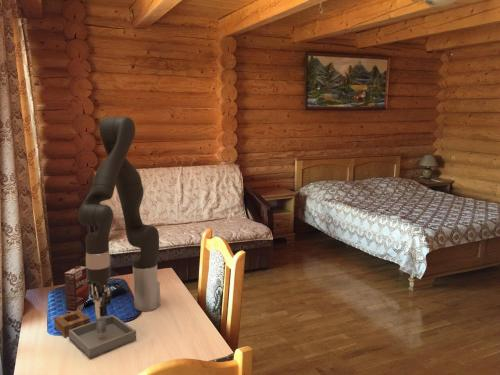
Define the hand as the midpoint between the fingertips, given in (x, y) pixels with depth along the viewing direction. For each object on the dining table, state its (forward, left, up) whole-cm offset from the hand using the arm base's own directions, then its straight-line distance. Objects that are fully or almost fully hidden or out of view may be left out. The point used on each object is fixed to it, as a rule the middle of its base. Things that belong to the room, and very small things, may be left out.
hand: (100, 313), depth 141 cm
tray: (0, 0, -10) cm, 10 cm away
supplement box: (-4, -29, -10) cm, 31 cm away
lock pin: (0, 0, -6) cm, 6 cm away
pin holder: (+4, -15, -10) cm, 18 cm away
